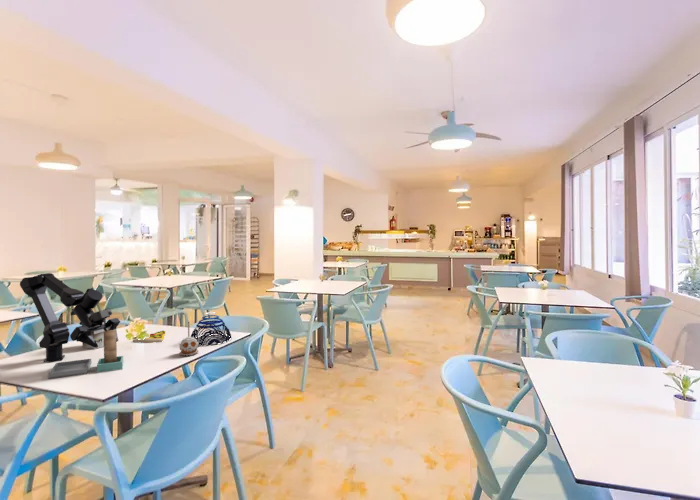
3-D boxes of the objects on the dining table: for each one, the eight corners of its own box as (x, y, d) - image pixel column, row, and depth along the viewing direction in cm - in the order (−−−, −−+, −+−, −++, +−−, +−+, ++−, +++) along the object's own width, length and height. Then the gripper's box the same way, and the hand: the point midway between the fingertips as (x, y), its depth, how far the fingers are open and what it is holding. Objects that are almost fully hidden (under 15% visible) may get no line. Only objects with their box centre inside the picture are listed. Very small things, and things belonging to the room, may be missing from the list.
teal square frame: (99, 365, 159) (99, 358, 159) (123, 362, 163) (123, 355, 163) (97, 372, 152) (96, 365, 152) (122, 369, 156) (121, 361, 156)
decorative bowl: (192, 348, 185) (192, 318, 184) (187, 338, 202) (187, 311, 202) (234, 342, 195) (234, 314, 194) (226, 333, 212) (226, 308, 212)
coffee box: (107, 345, 188) (106, 313, 187) (94, 349, 182) (93, 316, 181) (94, 343, 191) (93, 312, 191) (81, 347, 185) (80, 314, 185)
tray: (56, 367, 157) (56, 362, 157) (91, 363, 163) (91, 358, 163) (48, 379, 145) (48, 373, 145) (86, 373, 150) (86, 368, 150)
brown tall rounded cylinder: (104, 366, 159) (104, 330, 158) (117, 365, 161) (116, 329, 160) (103, 370, 155) (103, 333, 154) (116, 368, 157) (115, 332, 156)
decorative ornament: (180, 357, 171) (179, 324, 170) (179, 352, 177) (178, 320, 177) (199, 355, 174) (198, 322, 174) (197, 350, 181) (196, 319, 180)
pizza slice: (130, 344, 194) (130, 338, 193) (152, 333, 214) (151, 328, 214) (161, 344, 194) (161, 338, 193) (179, 333, 214) (179, 328, 214)
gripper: (74, 307, 150) (96, 337, 147) (116, 299, 167) (136, 326, 165) (60, 325, 152) (82, 355, 149) (103, 316, 170) (123, 342, 167)
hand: (107, 344), depth 158 cm, fingers open, 9 cm apart
